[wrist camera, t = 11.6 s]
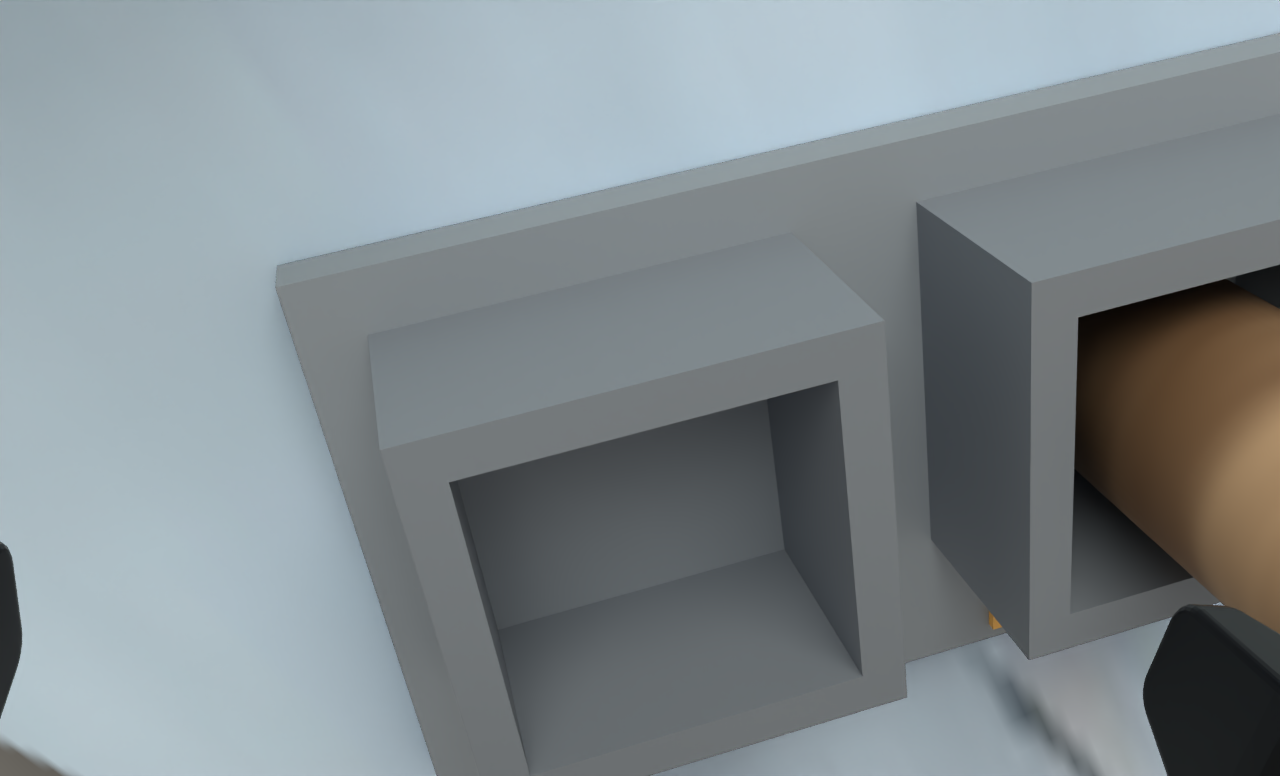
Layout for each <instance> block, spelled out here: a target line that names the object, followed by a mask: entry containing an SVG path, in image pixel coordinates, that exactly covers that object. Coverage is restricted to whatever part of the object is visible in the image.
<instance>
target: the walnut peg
mask: <svg viewBox="0 0 1280 776" xmlns="http://www.w3.org/2000/svg"><path fill="white" fill-rule="evenodd" d="M1074 469H1075V470H1076V471H1077V472H1079V473H1080V474H1081V475H1082V476H1083V477H1084V478H1085V479H1086V480H1087V481H1088V482H1089V483H1091V484H1092V485H1093V486H1094V487H1095V488H1096V489H1097V490H1098V491H1099V492H1100V493H1102V494H1103V495H1104V496H1105V497H1106V498H1107V499H1108V500H1109V501H1110V502H1111V503H1113V504H1114V505H1115V506H1116V507H1117V508H1118V509H1119V510H1120V511H1121V512H1122V513H1124V514H1125V515H1126V516H1127V517H1128V518H1129V519H1130V520H1131V521H1132V522H1133V523H1134V524H1136V525H1137V526H1138V527H1139V528H1140V529H1141V530H1142V531H1143V532H1144V533H1145V534H1147V535H1148V536H1149V537H1150V538H1151V539H1152V540H1153V541H1154V542H1155V543H1156V544H1158V545H1159V546H1160V547H1161V548H1162V549H1163V550H1164V551H1165V552H1166V553H1167V554H1169V555H1170V556H1171V557H1172V558H1173V559H1174V560H1175V561H1176V562H1177V563H1178V564H1179V565H1181V566H1182V567H1183V568H1184V569H1185V570H1186V571H1187V572H1188V573H1189V574H1190V575H1192V576H1193V577H1194V578H1195V579H1196V580H1197V581H1198V582H1199V583H1200V584H1201V585H1203V586H1204V587H1205V588H1206V589H1207V590H1208V591H1209V592H1210V593H1211V594H1212V595H1214V596H1215V597H1216V598H1217V599H1218V600H1219V601H1220V602H1221V603H1222V604H1223V605H1225V606H1229V607H1233V608H1236V609H1238V610H1240V611H1242V612H1244V613H1245V614H1247V615H1249V616H1250V617H1252V618H1254V619H1255V620H1257V621H1259V622H1260V623H1262V624H1264V625H1266V626H1267V627H1269V628H1271V629H1272V630H1274V631H1276V632H1277V633H1279V634H1280V309H1279V308H1277V307H1275V306H1274V305H1272V304H1270V303H1268V302H1266V301H1265V300H1263V299H1261V298H1259V297H1258V296H1256V295H1254V294H1252V293H1250V292H1249V291H1247V290H1245V289H1243V288H1242V287H1240V286H1238V285H1236V284H1234V283H1233V282H1231V281H1229V280H1227V279H1223V280H1219V281H1215V282H1211V283H1207V284H1204V285H1200V286H1196V287H1192V288H1188V289H1185V290H1181V291H1177V292H1173V293H1169V294H1165V295H1162V296H1158V297H1154V298H1150V299H1146V300H1143V301H1139V302H1135V303H1131V304H1127V305H1124V306H1120V307H1116V308H1112V309H1108V310H1104V311H1101V312H1097V313H1093V314H1089V315H1085V316H1082V317H1078V345H1077V381H1076V418H1075V454H1074Z"/></svg>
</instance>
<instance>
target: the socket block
mask: <svg viewBox="0 0 1280 776" xmlns="http://www.w3.org/2000/svg"><path fill="white" fill-rule="evenodd" d="M1223 279H1227V280H1229V281H1231V282H1233V283H1234V284H1236V285H1238V286H1240V287H1242V288H1243V289H1245V290H1247V291H1249V292H1250V293H1252V294H1254V295H1256V296H1258V297H1259V298H1261V299H1263V300H1265V301H1266V302H1268V303H1270V304H1272V305H1274V306H1275V307H1277V308H1279V309H1280V33H1278V34H1274V35H1269V36H1265V37H1261V38H1256V39H1252V40H1248V41H1243V42H1239V43H1235V44H1230V45H1226V46H1222V47H1218V48H1213V49H1209V50H1205V51H1200V52H1196V53H1192V54H1187V55H1183V56H1179V57H1174V58H1170V59H1166V60H1162V61H1157V62H1153V63H1149V64H1144V65H1140V66H1136V67H1131V68H1127V69H1123V70H1118V71H1114V72H1110V73H1105V74H1101V75H1097V76H1093V77H1088V78H1084V79H1080V80H1075V81H1071V82H1067V83H1062V84H1058V85H1054V86H1049V87H1045V88H1041V89H1037V90H1032V91H1028V92H1024V93H1019V94H1015V95H1011V96H1006V97H1002V98H998V99H993V100H989V101H985V102H980V103H976V104H972V105H968V106H963V107H959V108H955V109H950V110H946V111H942V112H937V113H933V114H929V115H924V116H920V117H916V118H912V119H907V120H903V121H899V122H894V123H890V124H886V125H881V126H877V127H873V128H868V129H864V130H860V131H855V132H851V133H847V134H843V135H838V136H834V137H830V138H825V139H821V140H817V141H812V142H808V143H804V144H799V145H795V146H791V147H787V148H782V149H778V150H774V151H769V152H765V153H761V154H756V155H752V156H748V157H743V158H739V159H735V160H730V161H726V162H722V163H718V164H713V165H709V166H705V167H700V168H696V169H692V170H687V171H683V172H679V173H674V174H670V175H666V176H662V177H657V178H653V179H649V180H644V181H640V182H636V183H631V184H627V185H623V186H618V187H614V188H610V189H605V190H601V191H597V192H593V193H588V194H584V195H580V196H575V197H571V198H567V199H562V200H558V201H554V202H549V203H545V204H541V205H537V206H532V207H528V208H524V209H519V210H515V211H511V212H506V213H502V214H498V215H493V216H489V217H485V218H480V219H476V220H472V221H468V222H463V223H459V224H455V225H450V226H446V227H442V228H437V229H433V230H429V231H424V232H420V233H416V234H412V235H407V236H403V237H399V238H394V239H390V240H386V241H381V242H377V243H373V244H368V245H364V246H360V247H355V248H351V249H347V250H343V251H338V252H334V253H330V254H325V255H321V256H317V257H312V258H308V259H304V260H299V261H295V262H291V263H287V264H282V265H278V266H277V270H276V286H275V288H276V291H277V294H278V297H279V300H280V303H281V306H282V309H283V312H284V315H285V318H286V321H287V324H288V327H289V330H290V333H291V336H292V339H293V342H294V345H295V348H296V351H297V354H298V357H299V360H300V363H301V367H302V370H303V373H304V376H305V379H306V382H307V385H308V388H309V391H310V394H311V397H312V400H313V403H314V406H315V409H316V412H317V415H318V418H319V421H320V424H321V427H322V430H323V433H324V436H325V439H326V442H327V445H328V448H329V451H330V454H331V457H332V460H333V463H334V466H335V469H336V472H337V475H338V478H339V481H340V485H341V488H342V491H343V494H344V497H345V500H346V503H347V506H348V509H349V512H350V515H351V518H352V521H353V524H354V527H355V530H356V533H357V536H358V539H359V542H360V545H361V548H362V551H363V554H364V557H365V560H366V563H367V566H368V569H369V572H370V575H371V578H372V581H373V584H374V587H375V590H376V593H377V596H378V599H379V603H380V606H381V609H382V612H383V615H384V618H385V621H386V624H387V627H388V630H389V633H390V636H391V639H392V642H393V645H394V648H395V651H396V654H397V657H398V660H399V663H400V666H401V669H402V672H403V675H404V678H405V681H406V684H407V687H408V690H409V693H410V696H411V699H412V702H413V705H414V708H415V711H416V714H417V717H418V721H419V724H420V727H421V730H422V733H423V736H424V739H425V742H426V745H427V748H428V751H429V754H430V757H431V760H432V763H433V766H434V769H435V772H436V775H437V776H650V775H653V774H656V773H660V772H663V771H666V770H670V769H673V768H676V767H679V766H683V765H686V764H689V763H693V762H696V761H699V760H702V759H706V758H709V757H712V756H716V755H719V754H722V753H725V752H729V751H732V750H735V749H739V748H742V747H745V746H749V745H752V744H755V743H758V742H762V741H765V740H768V739H772V738H775V737H778V736H781V735H785V734H788V733H791V732H795V731H798V730H801V729H804V728H808V727H811V726H814V725H818V724H821V723H824V722H827V721H831V720H834V719H837V718H841V717H844V716H847V715H850V714H854V713H857V712H860V711H864V710H867V709H870V708H874V707H877V706H880V705H883V704H887V703H890V702H893V701H897V700H900V699H903V698H906V697H907V688H906V671H905V663H907V662H910V661H914V660H917V659H920V658H924V657H927V656H930V655H934V654H937V653H940V652H944V651H947V650H950V649H954V648H957V647H960V646H964V645H967V644H970V643H974V642H977V641H980V640H984V639H987V638H990V637H994V636H997V635H1000V634H1004V633H1008V635H1009V636H1010V637H1011V638H1012V640H1013V641H1014V642H1015V643H1016V644H1017V646H1018V647H1019V648H1020V649H1021V651H1022V652H1023V653H1024V654H1025V656H1026V657H1027V658H1028V659H1029V660H1031V659H1035V658H1038V657H1041V656H1045V655H1048V654H1051V653H1054V652H1058V651H1061V650H1064V649H1068V648H1071V647H1074V646H1077V645H1081V644H1084V643H1087V642H1091V641H1094V640H1097V639H1101V638H1104V637H1107V636H1110V635H1114V634H1117V633H1120V632H1124V631H1127V630H1130V629H1133V628H1137V627H1140V626H1143V625H1147V624H1150V623H1153V622H1156V621H1160V620H1163V619H1166V618H1170V617H1173V615H1174V614H1175V613H1176V612H1177V611H1178V610H1179V609H1180V608H1181V607H1183V606H1186V605H1189V604H1199V605H1212V604H1216V603H1219V602H1220V601H1219V600H1218V599H1217V598H1216V597H1215V596H1214V595H1212V594H1211V593H1210V592H1209V591H1208V590H1207V589H1206V588H1205V587H1204V586H1203V585H1201V584H1200V583H1199V582H1198V581H1197V580H1196V579H1195V578H1194V577H1193V576H1192V575H1190V574H1189V573H1188V572H1187V571H1186V570H1185V569H1184V568H1183V567H1182V566H1181V565H1179V564H1178V563H1177V562H1176V561H1175V560H1174V559H1173V558H1172V557H1171V556H1170V555H1169V554H1167V553H1166V552H1165V551H1164V550H1163V549H1162V548H1161V547H1160V546H1159V545H1158V544H1156V543H1155V542H1154V541H1153V540H1152V539H1151V538H1150V537H1149V536H1148V535H1147V534H1145V533H1144V532H1143V531H1142V530H1141V529H1140V528H1139V527H1138V526H1137V525H1136V524H1134V523H1133V522H1132V521H1131V520H1130V519H1129V518H1128V517H1127V516H1126V515H1125V514H1124V513H1122V512H1121V511H1120V510H1119V509H1118V508H1117V507H1116V506H1115V505H1114V504H1113V503H1111V502H1110V501H1109V500H1108V499H1107V498H1106V497H1105V496H1104V495H1103V494H1102V493H1100V492H1099V491H1098V490H1097V489H1096V488H1095V487H1094V486H1093V485H1092V484H1091V483H1089V482H1088V481H1087V480H1086V479H1085V478H1084V477H1083V476H1082V475H1081V474H1080V473H1079V472H1077V471H1076V470H1075V469H1074V454H1075V418H1076V381H1077V345H1078V317H1082V316H1085V315H1089V314H1093V313H1097V312H1101V311H1104V310H1108V309H1112V308H1116V307H1120V306H1124V305H1127V304H1131V303H1135V302H1139V301H1143V300H1146V299H1150V298H1154V297H1158V296H1162V295H1165V294H1169V293H1173V292H1177V291H1181V290H1185V289H1188V288H1192V287H1196V286H1200V285H1204V284H1207V283H1211V282H1215V281H1219V280H1223Z"/></svg>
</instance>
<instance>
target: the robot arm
mask: <svg viewBox="0 0 1280 776" xmlns="http://www.w3.org/2000/svg"><path fill="white" fill-rule="evenodd" d="M21 647H22V627H21V619H20V612H19V604H18V597H17V589H16V582H15V574H14V567H13V561H12V556H11V554H10V551H9V549H8V547H7V546H6V545H4V544H3V543H2V542H0V718H1V715H2V712H3V709H4V706H5V703H6V700H7V697H8V694H9V691H10V688H11V685H12V682H13V679H14V676H15V673H16V670H17V667H18V663H19V659H20V654H21ZM1143 700H1144V707H1145V711H1146V715H1147V717H1148V720H1149V723H1150V726H1151V729H1152V732H1153V735H1154V738H1155V741H1156V744H1157V747H1158V750H1159V752H1160V755H1161V758H1162V761H1163V764H1164V767H1165V770H1166V773H1167V776H1280V634H1279V633H1277V632H1276V631H1274V630H1272V629H1271V628H1269V627H1267V626H1266V625H1264V624H1262V623H1260V622H1259V621H1257V620H1255V619H1254V618H1252V617H1250V616H1249V615H1247V614H1245V613H1244V612H1242V611H1240V610H1238V609H1236V608H1233V607H1229V606H1218V605H1199V604H1189V605H1186V606H1183V607H1181V608H1180V609H1179V610H1178V611H1177V612H1176V613H1175V614H1174V615H1173V617H1172V619H1171V621H1170V623H1169V625H1168V628H1167V630H1166V632H1165V634H1164V637H1163V639H1162V641H1161V643H1160V646H1159V648H1158V650H1157V653H1156V655H1155V657H1154V659H1153V662H1152V664H1151V666H1150V668H1149V671H1148V673H1147V675H1146V678H1145V682H1144V688H1143Z"/></svg>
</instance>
